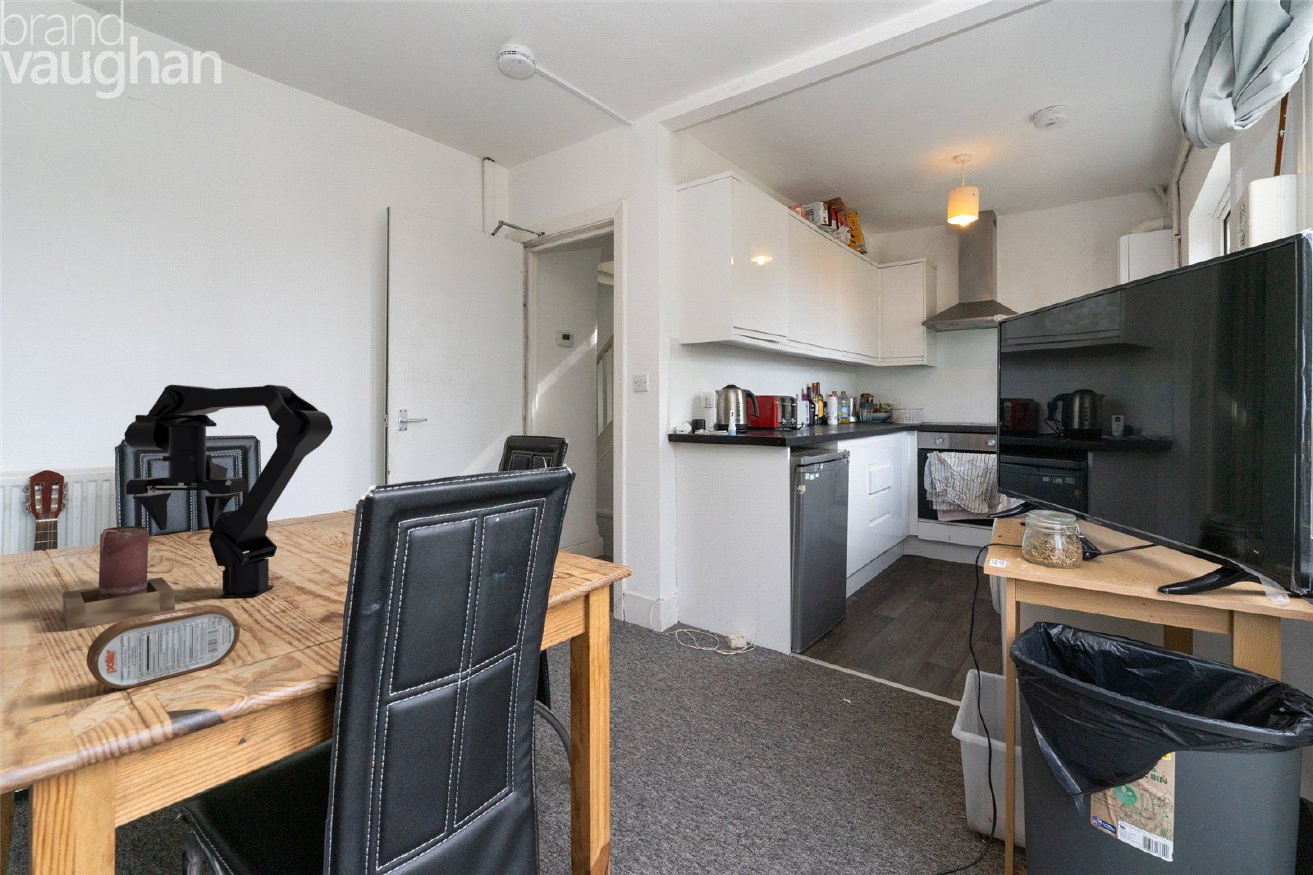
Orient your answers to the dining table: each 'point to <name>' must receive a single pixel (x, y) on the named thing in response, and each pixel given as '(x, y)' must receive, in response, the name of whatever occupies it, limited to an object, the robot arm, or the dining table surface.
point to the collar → (115, 605)
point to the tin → (162, 645)
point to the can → (123, 562)
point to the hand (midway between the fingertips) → (188, 529)
